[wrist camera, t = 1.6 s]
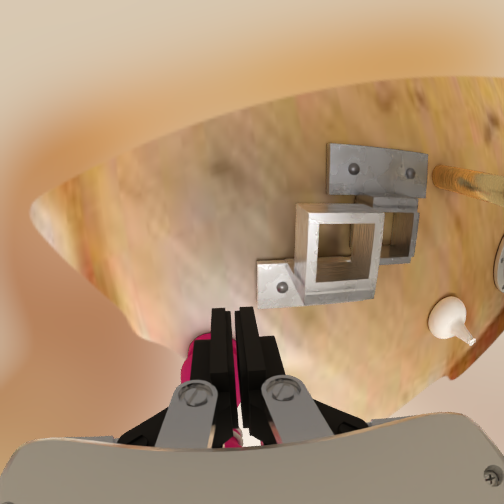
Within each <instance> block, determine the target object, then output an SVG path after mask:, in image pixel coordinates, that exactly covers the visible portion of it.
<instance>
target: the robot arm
mask: <svg viewBox="0 0 504 504" xmlns="http://www.w3.org/2000/svg"><path fill="white" fill-rule="evenodd" d="M494 281H495V285H496V287H497V289H499V290H500V291H501V292H503V293H504V237H503V239H502V241H501V243H500V246H499V249H498V252H497V256H496V260H495V266H494ZM235 331H236V352H237V369H238V380H239V390H240V400H241V410H242V419H243V428H249V433H250V436H251V435H252V436H254V437H255V438H257V439H259V440H260V441H261V446H251V447H236V448H225V444H224V443H225V442H227V441H228V440H229V439H230V438H232V437H233V429H239V426H238V412H237V397H236V382H235V367H234V355H233V341H232V327H231V313H230V311H225V308H212V317H211V339H203V340H194V346H193V355H192V364H191V374H190V381H186V382H184V383H182V384H181V385H179V386H178V387H177V388H176V390H175V391H174V393H173V396H172V399H171V402H170V405H169V407H167V408H166V409H164V410H163V411H161V412H159V413H158V414H156V415H154V416H153V417H151V418H150V419H148V420H146V421H145V422H143V423H141V424H140V425H138V426H136V427H135V428H133V429H131V430H129V431H128V432H126V433H124V434H123V435H122V436H121V437H120V438H117V439H114V437H113V436H101V437H66V438H44V439H36V440H32V441H29V442H26V443H25V444H22V445H21V446H20V447H19V448H18V449H17V450H16V451H15V452H14V453H13V455H12V456H11V458H10V460H9V461H8V463H7V464H6V466H5V468H4V470H3V472H2V474H1V476H0V504H504V456H503V454H502V453H501V452H500V450H499V449H498V448H497V446H496V445H495V444H494V442H493V441H492V440H491V438H490V437H489V436H488V435H487V434H486V432H485V431H484V430H483V429H482V428H481V427H480V426H479V425H478V424H477V423H476V422H474V421H473V420H472V419H471V418H469V417H468V416H466V415H463V414H460V413H452V412H437V413H428V414H421V415H415V416H407V417H397V418H386V419H371V422H369V423H366V422H365V421H363V420H362V419H360V418H357V417H355V416H352V415H350V414H347V413H345V412H342V411H340V410H338V409H335V408H333V407H330V406H328V405H326V404H323V403H321V402H319V401H316V400H314V399H312V397H311V395H310V394H309V392H308V390H307V388H306V387H305V385H304V384H303V383H302V381H301V380H299V379H298V378H296V377H293V376H290V375H285V371H284V368H283V364H282V361H281V357H280V354H279V350H278V347H277V343H276V340H275V337H274V336H263V337H259V334H258V329H257V324H256V319H255V314H254V310H253V307H240V311H235Z"/></svg>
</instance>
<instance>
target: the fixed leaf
mask: <svg viewBox="0 0 504 504" xmlns="http://www.w3.org/2000/svg"><path fill="white" fill-rule="evenodd" d="M427 170H428V154H423V153H417V152H410V151H403V150H395V149H387V148H379V147H369V146H359V145H347V144H334V143H327V169H326V193H327V194H330V195H356V202H355V204H365V205H367V206H369V207H372V208H374V209H376V210H378V211H381V212H394V217H393V227H392V236H391V244H390V245H381V253H380V261H379V265H389V264H403V263H410V261H411V257H414V252H415V246H416V239H417V231H418V223H419V214H420V213H419V212H417V208H418V199H417V198H426V187H427ZM353 229H354V224H351V232H350V244H349V247H351V248H352V241H353Z"/></svg>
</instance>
